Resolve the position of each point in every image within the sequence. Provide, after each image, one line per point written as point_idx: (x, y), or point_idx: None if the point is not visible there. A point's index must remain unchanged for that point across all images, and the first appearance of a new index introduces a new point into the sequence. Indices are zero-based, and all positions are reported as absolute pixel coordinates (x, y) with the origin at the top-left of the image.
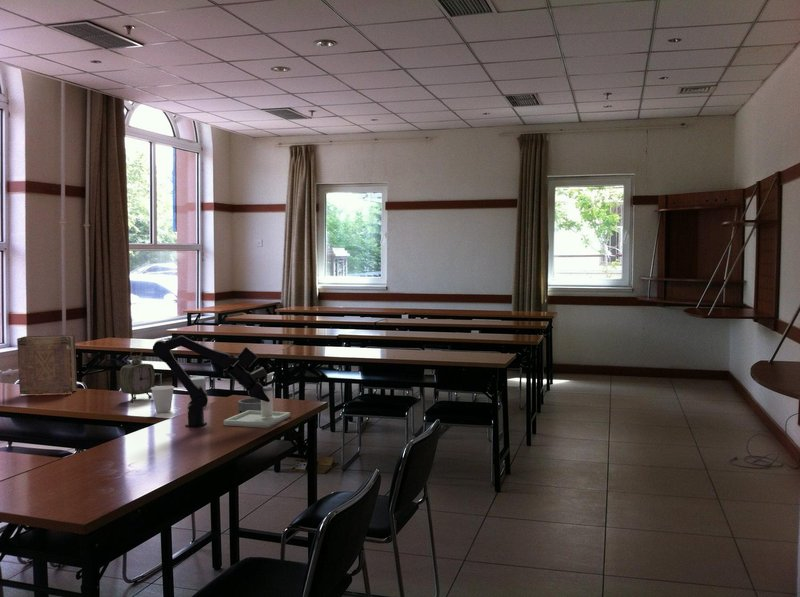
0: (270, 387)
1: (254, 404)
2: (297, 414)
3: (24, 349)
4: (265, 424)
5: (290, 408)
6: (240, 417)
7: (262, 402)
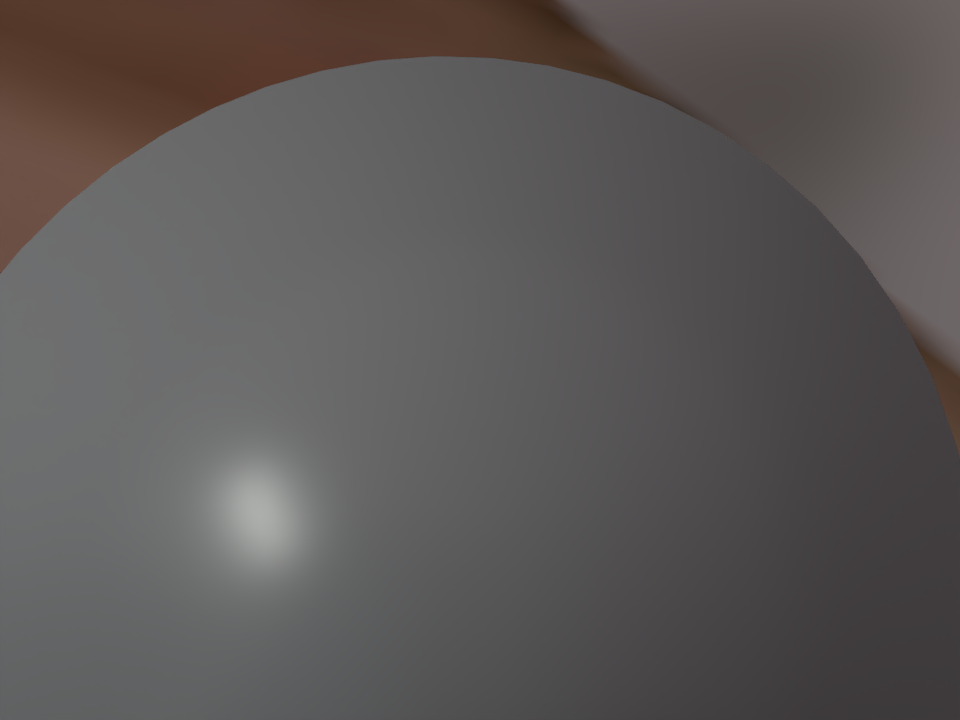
0: (589, 240)
1: None
2: (463, 56)
3: None
4: None
5: (11, 4)
6: None
7: None
